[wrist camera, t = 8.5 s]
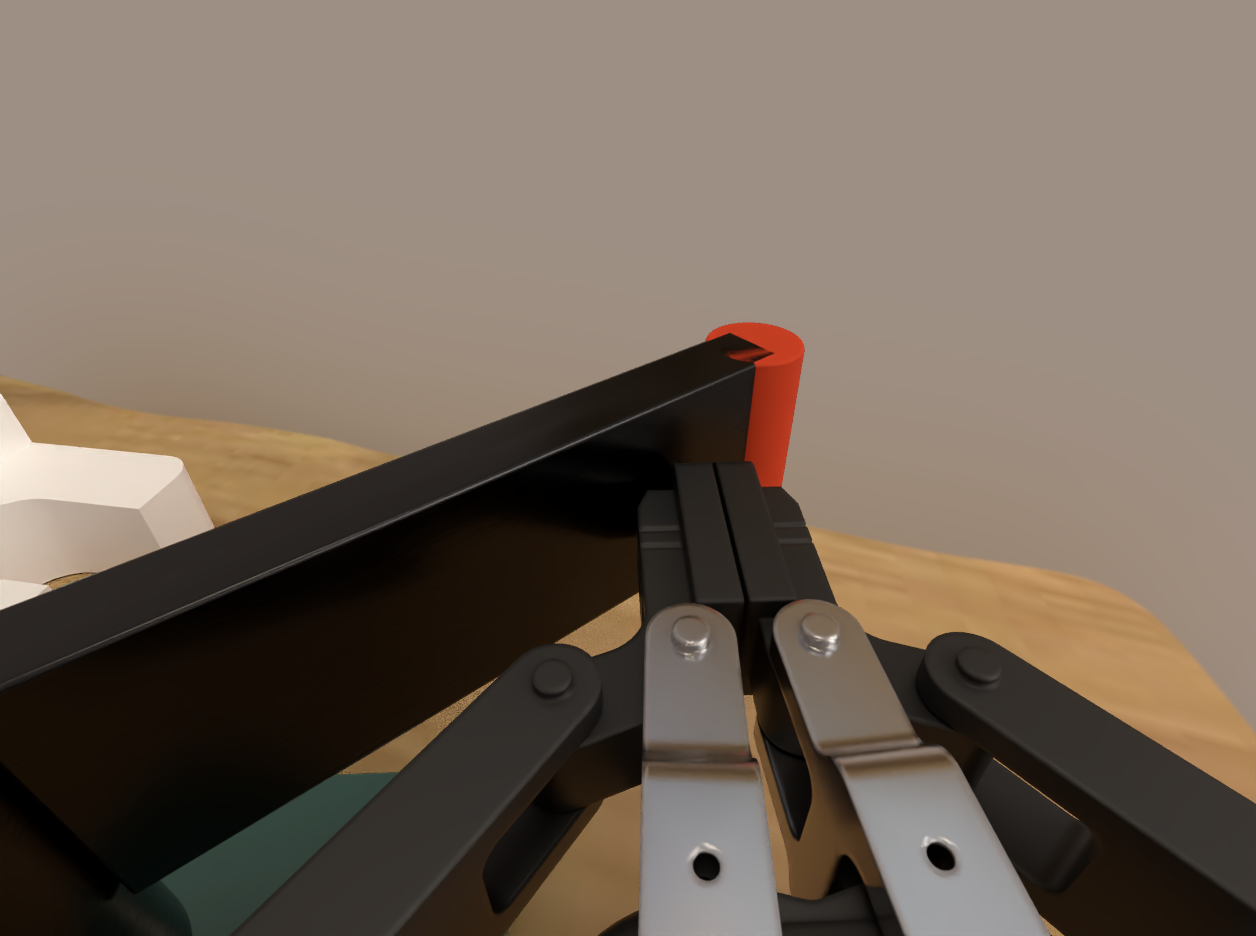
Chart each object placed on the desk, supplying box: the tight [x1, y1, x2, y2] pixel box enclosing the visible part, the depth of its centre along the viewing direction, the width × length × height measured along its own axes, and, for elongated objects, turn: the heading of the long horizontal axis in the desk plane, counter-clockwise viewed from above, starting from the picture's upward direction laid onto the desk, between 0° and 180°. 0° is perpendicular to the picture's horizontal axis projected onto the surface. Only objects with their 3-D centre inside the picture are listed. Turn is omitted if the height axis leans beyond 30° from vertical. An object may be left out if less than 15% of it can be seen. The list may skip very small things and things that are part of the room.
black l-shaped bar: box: [0, 323, 805, 936], centre depth 11 cm, size 17×4×10 cm, turn 129°
